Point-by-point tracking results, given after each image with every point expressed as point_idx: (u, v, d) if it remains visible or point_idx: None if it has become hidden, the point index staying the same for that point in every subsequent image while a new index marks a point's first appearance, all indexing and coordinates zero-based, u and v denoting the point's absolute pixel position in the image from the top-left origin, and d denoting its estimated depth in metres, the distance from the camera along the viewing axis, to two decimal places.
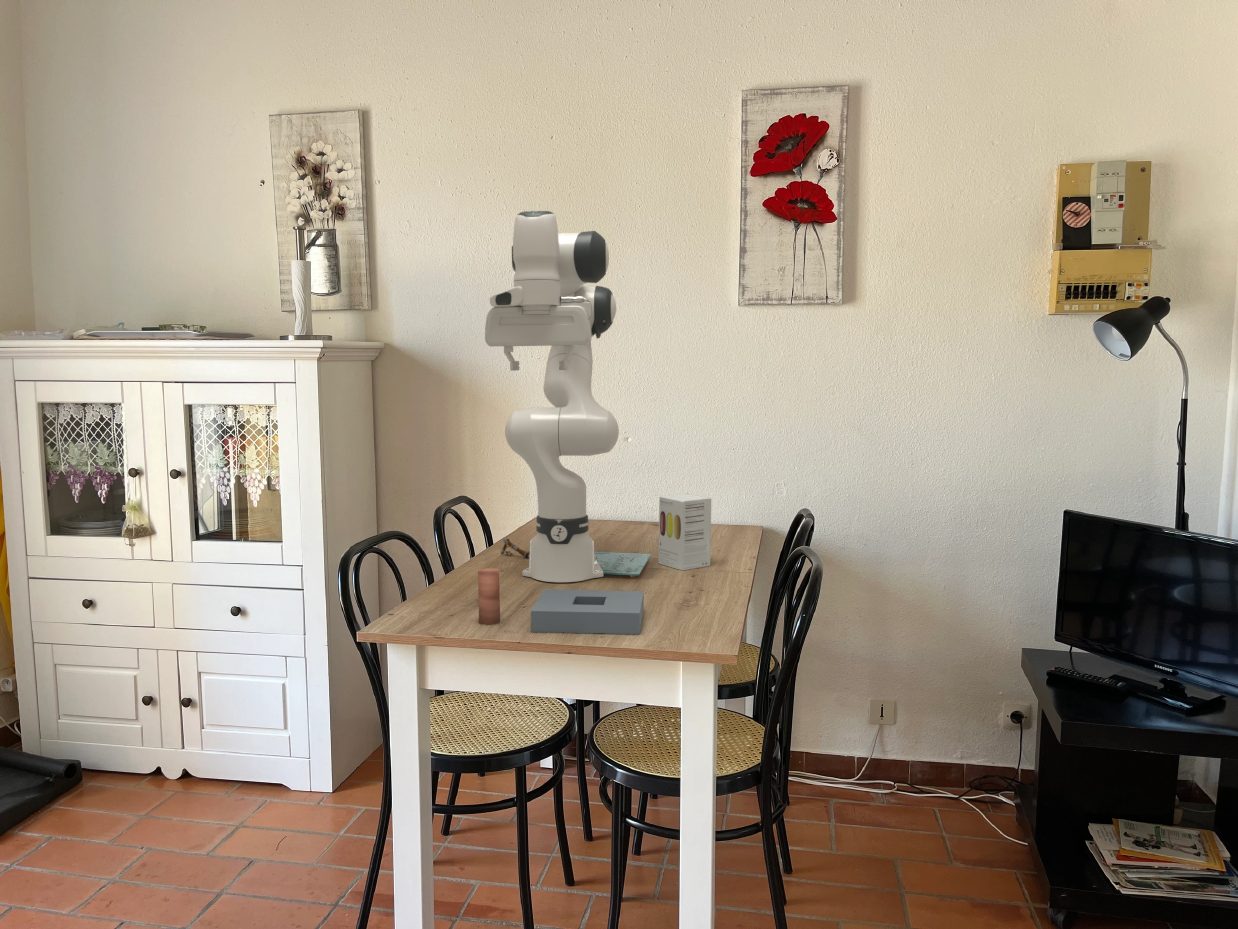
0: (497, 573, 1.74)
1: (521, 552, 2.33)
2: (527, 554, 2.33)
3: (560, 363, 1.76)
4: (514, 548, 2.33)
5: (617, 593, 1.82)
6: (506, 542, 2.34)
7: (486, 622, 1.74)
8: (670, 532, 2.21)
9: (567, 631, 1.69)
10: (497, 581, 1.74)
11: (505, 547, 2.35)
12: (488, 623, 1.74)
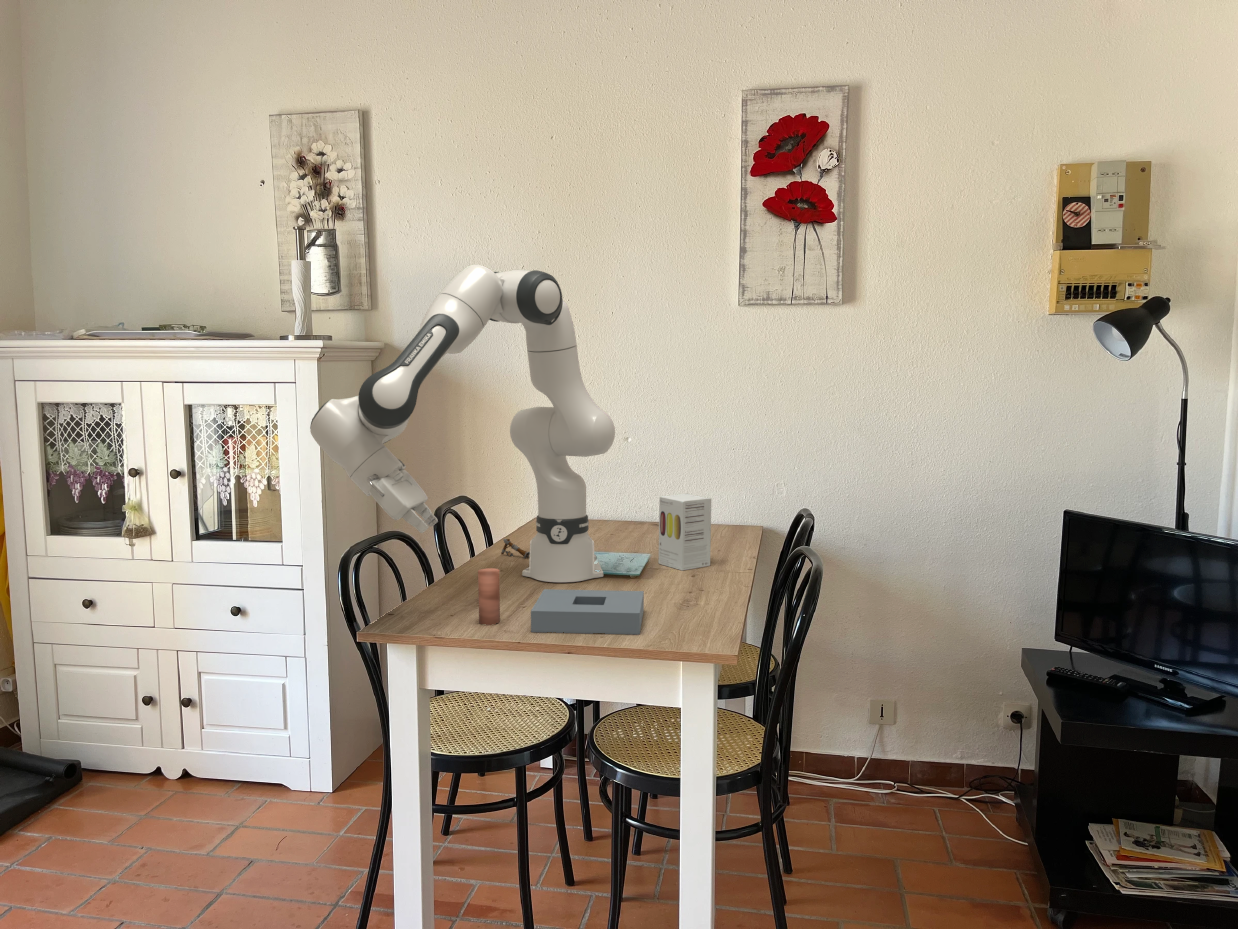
0: (497, 573, 1.74)
1: (521, 552, 2.33)
2: (527, 554, 2.33)
3: None
4: (514, 548, 2.33)
5: (617, 593, 1.82)
6: (506, 542, 2.34)
7: (486, 622, 1.74)
8: (670, 532, 2.21)
9: (567, 631, 1.69)
10: (497, 581, 1.74)
11: (505, 547, 2.35)
12: (488, 623, 1.74)
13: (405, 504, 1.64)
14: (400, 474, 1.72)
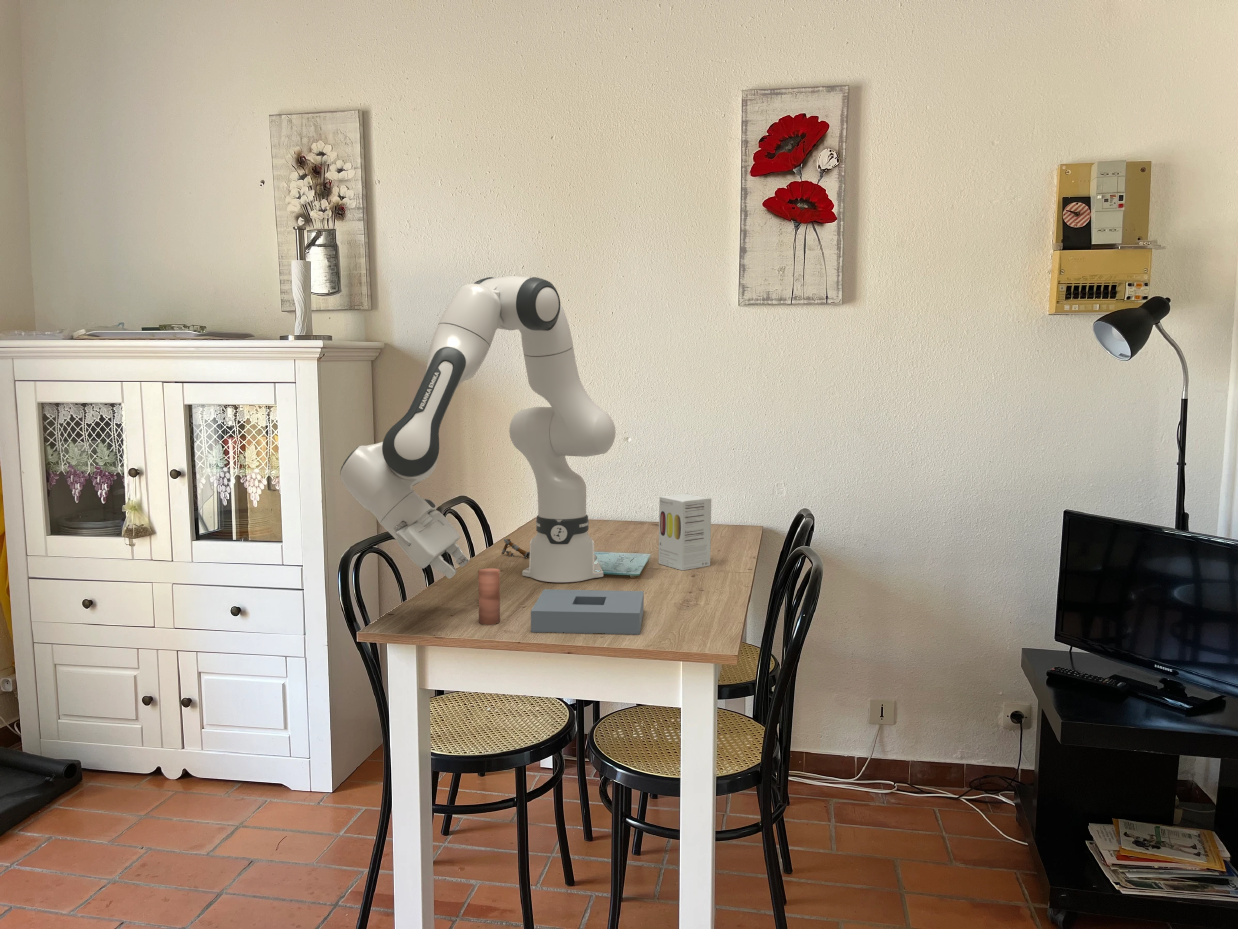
0: (497, 573, 1.74)
1: (522, 552, 2.33)
2: (528, 554, 2.33)
3: None
4: (515, 548, 2.33)
5: (617, 593, 1.82)
6: (507, 542, 2.34)
7: (486, 622, 1.74)
8: (670, 532, 2.21)
9: (567, 631, 1.69)
10: (497, 581, 1.74)
11: (506, 547, 2.35)
12: (488, 623, 1.74)
13: (431, 553, 1.65)
14: (428, 519, 1.74)
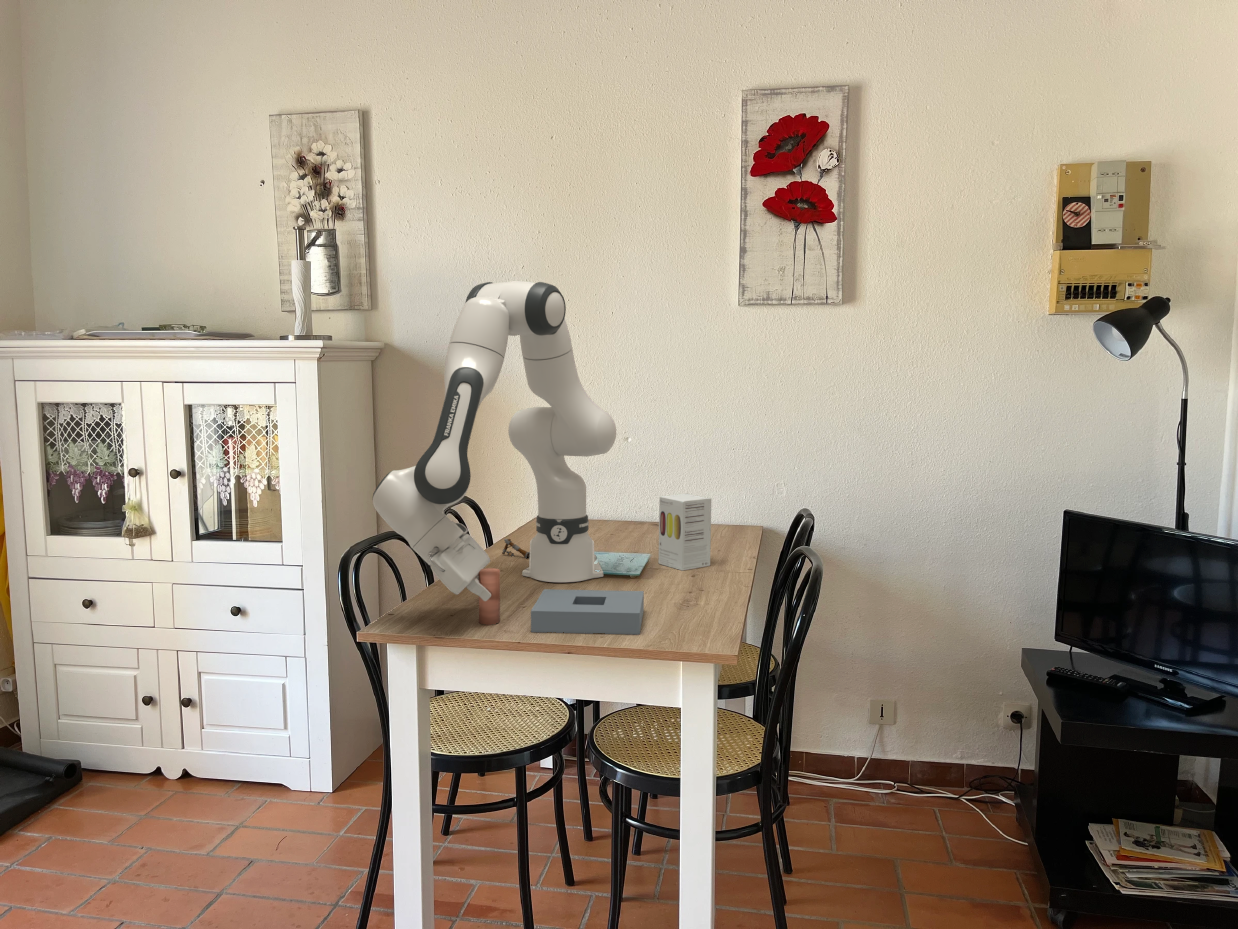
0: (497, 573, 1.74)
1: (522, 552, 2.32)
2: (528, 554, 2.33)
3: None
4: (515, 548, 2.33)
5: (617, 593, 1.82)
6: (507, 542, 2.34)
7: (486, 622, 1.74)
8: (670, 532, 2.21)
9: (567, 631, 1.69)
10: (497, 581, 1.74)
11: (506, 547, 2.35)
12: (488, 623, 1.74)
13: (465, 579, 1.66)
14: (461, 543, 1.74)
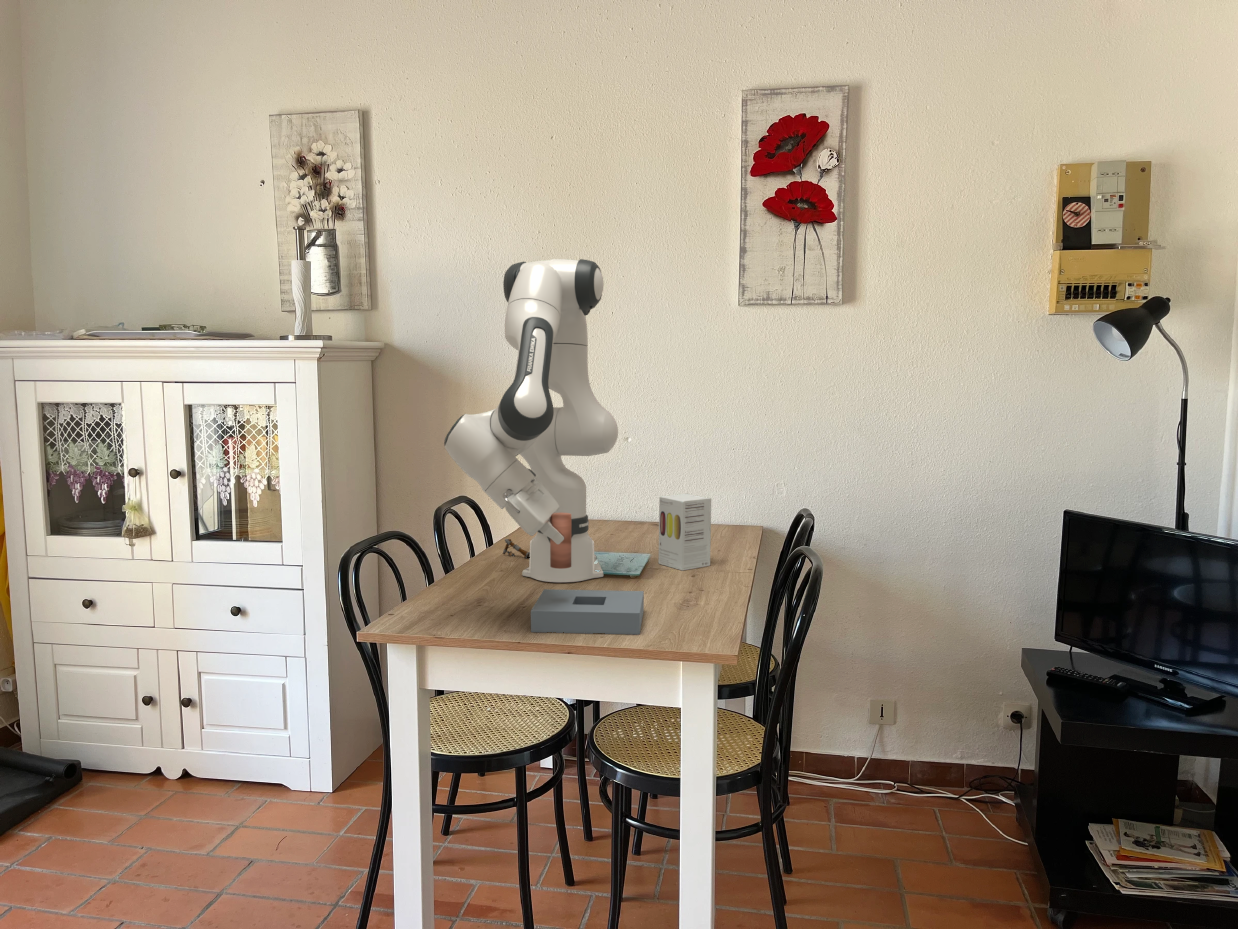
0: (569, 517, 1.73)
1: (523, 552, 2.32)
2: (529, 554, 2.33)
3: None
4: (516, 548, 2.33)
5: (617, 593, 1.82)
6: (508, 542, 2.34)
7: (558, 566, 1.73)
8: (670, 532, 2.21)
9: (567, 631, 1.69)
10: (569, 525, 1.74)
11: (507, 547, 2.35)
12: (560, 567, 1.73)
13: (540, 520, 1.65)
14: (533, 487, 1.73)
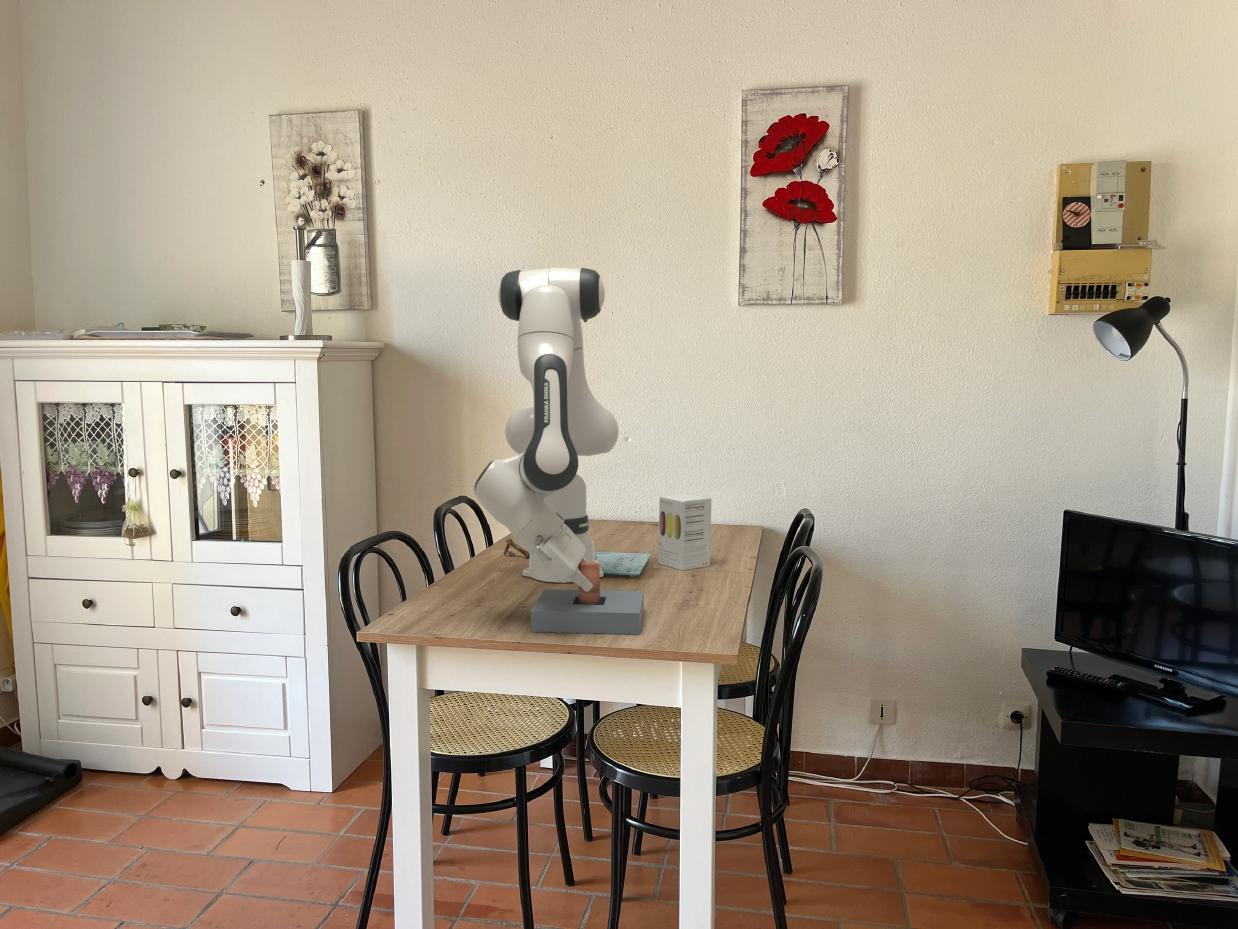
0: (598, 566, 1.74)
1: (523, 552, 2.32)
2: (529, 554, 2.33)
3: None
4: (517, 548, 2.33)
5: (617, 593, 1.82)
6: (509, 542, 2.34)
7: None
8: (670, 532, 2.21)
9: (567, 631, 1.69)
10: (598, 574, 1.75)
11: (508, 547, 2.35)
12: None
13: (572, 567, 1.66)
14: (562, 532, 1.74)
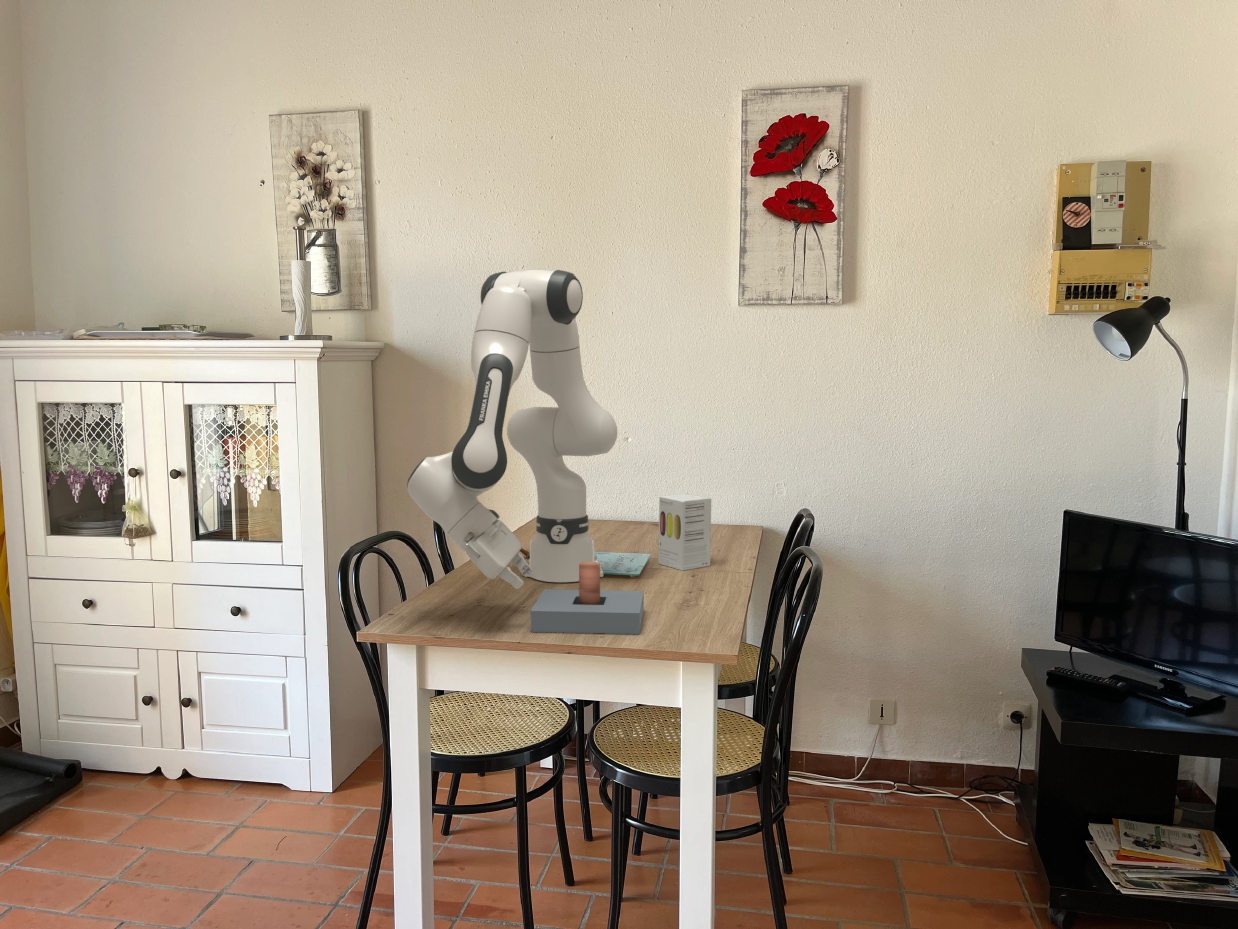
0: (598, 566, 1.75)
1: (524, 552, 2.32)
2: None
3: None
4: None
5: (617, 593, 1.82)
6: None
7: None
8: (670, 532, 2.21)
9: (567, 631, 1.69)
10: (598, 574, 1.75)
11: None
12: None
13: (500, 564, 1.67)
14: (495, 529, 1.75)
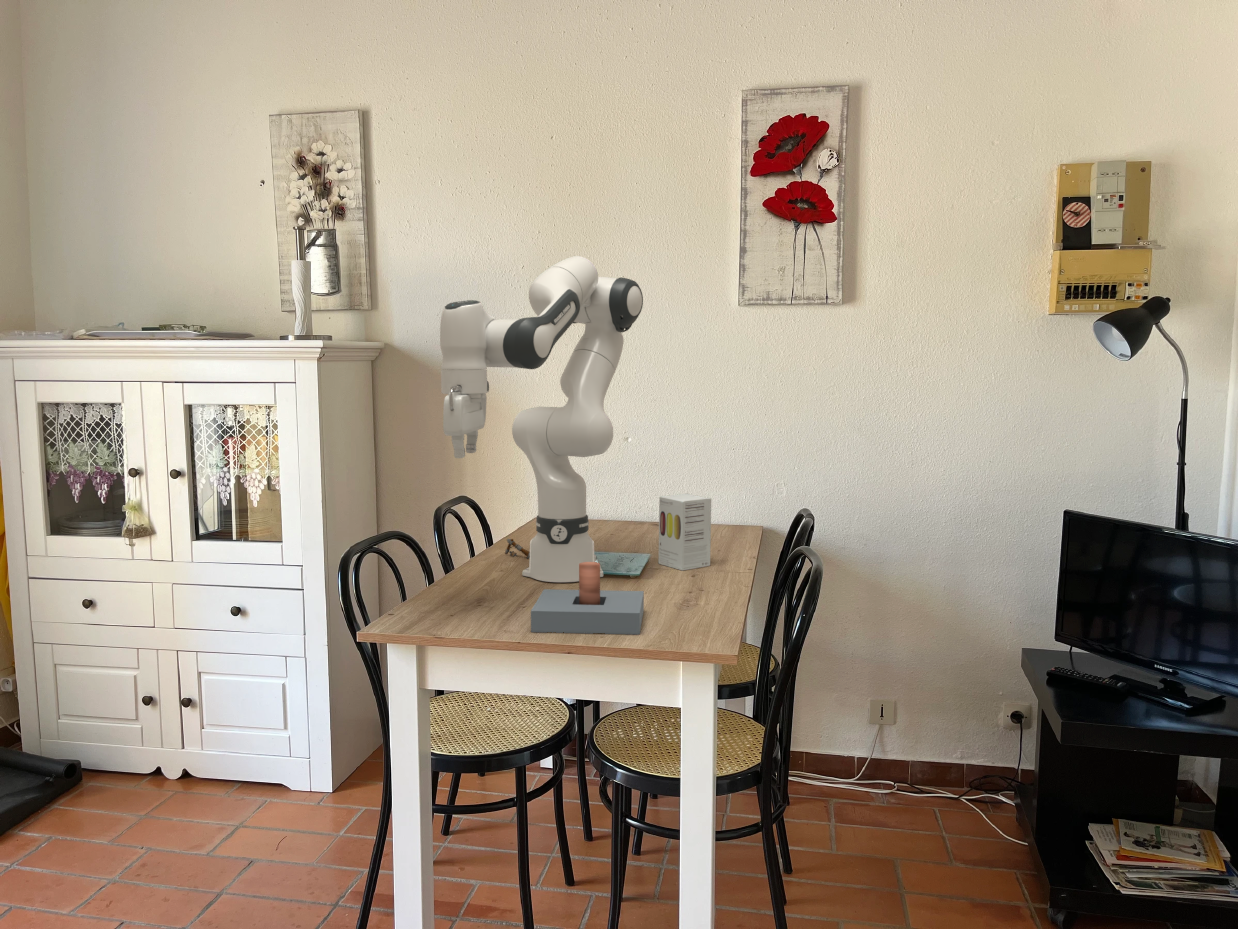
0: (598, 566, 1.75)
1: (525, 552, 2.32)
2: None
3: None
4: (518, 548, 2.33)
5: (617, 593, 1.82)
6: (510, 542, 2.34)
7: None
8: (670, 532, 2.21)
9: (567, 631, 1.69)
10: (598, 574, 1.75)
11: (509, 547, 2.35)
12: None
13: (461, 430, 1.71)
14: (478, 399, 1.79)
